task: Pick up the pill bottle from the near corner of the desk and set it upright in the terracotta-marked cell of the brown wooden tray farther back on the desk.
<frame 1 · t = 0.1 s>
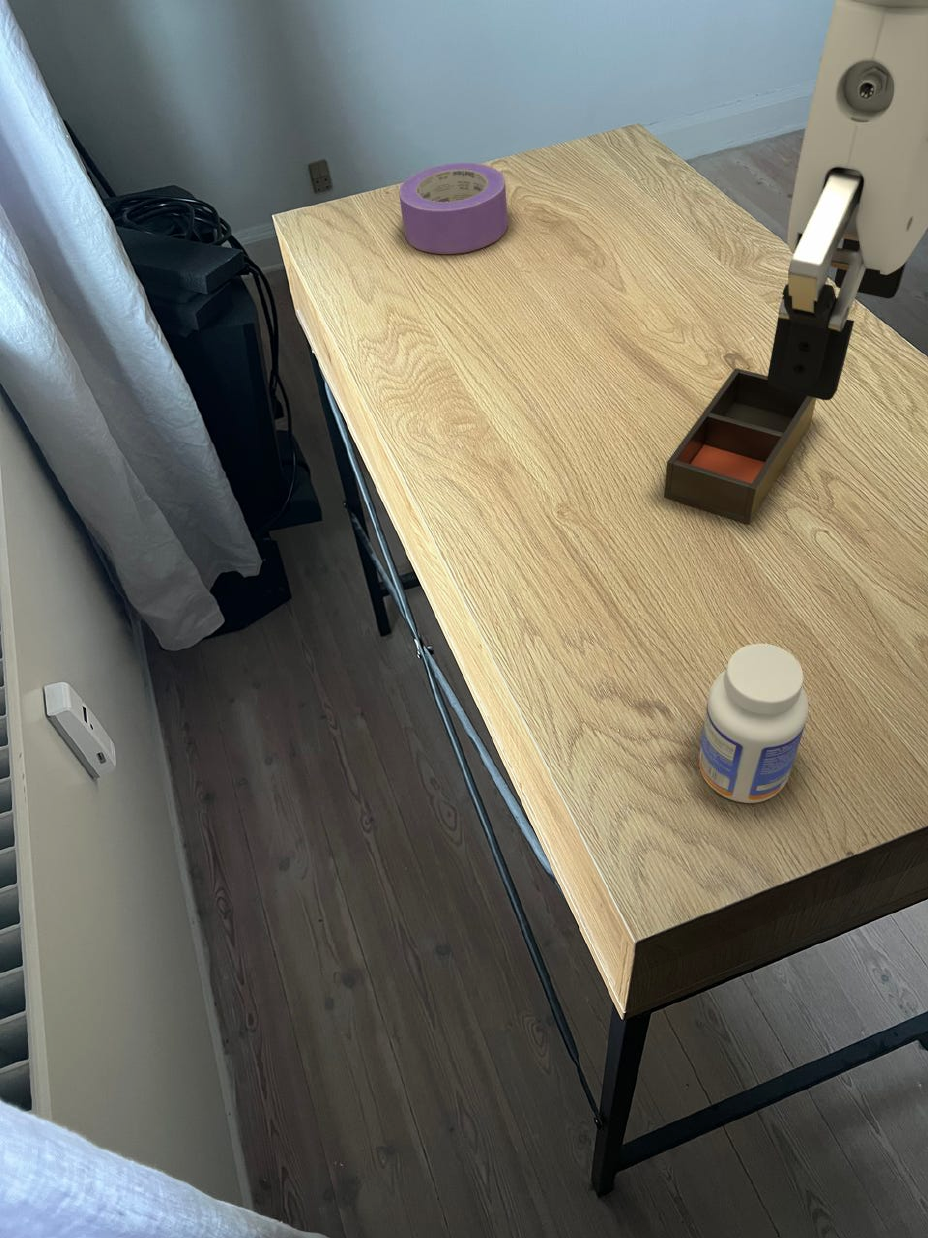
hand: (834, 337, 47), 22 cm above the table, tool pointing down, fingers open, 9 cm apart
brown wooden tray: (738, 460, 75), on the table
pill bottle: (741, 768, 57), on the table
tape roll: (456, 230, 106), on the table
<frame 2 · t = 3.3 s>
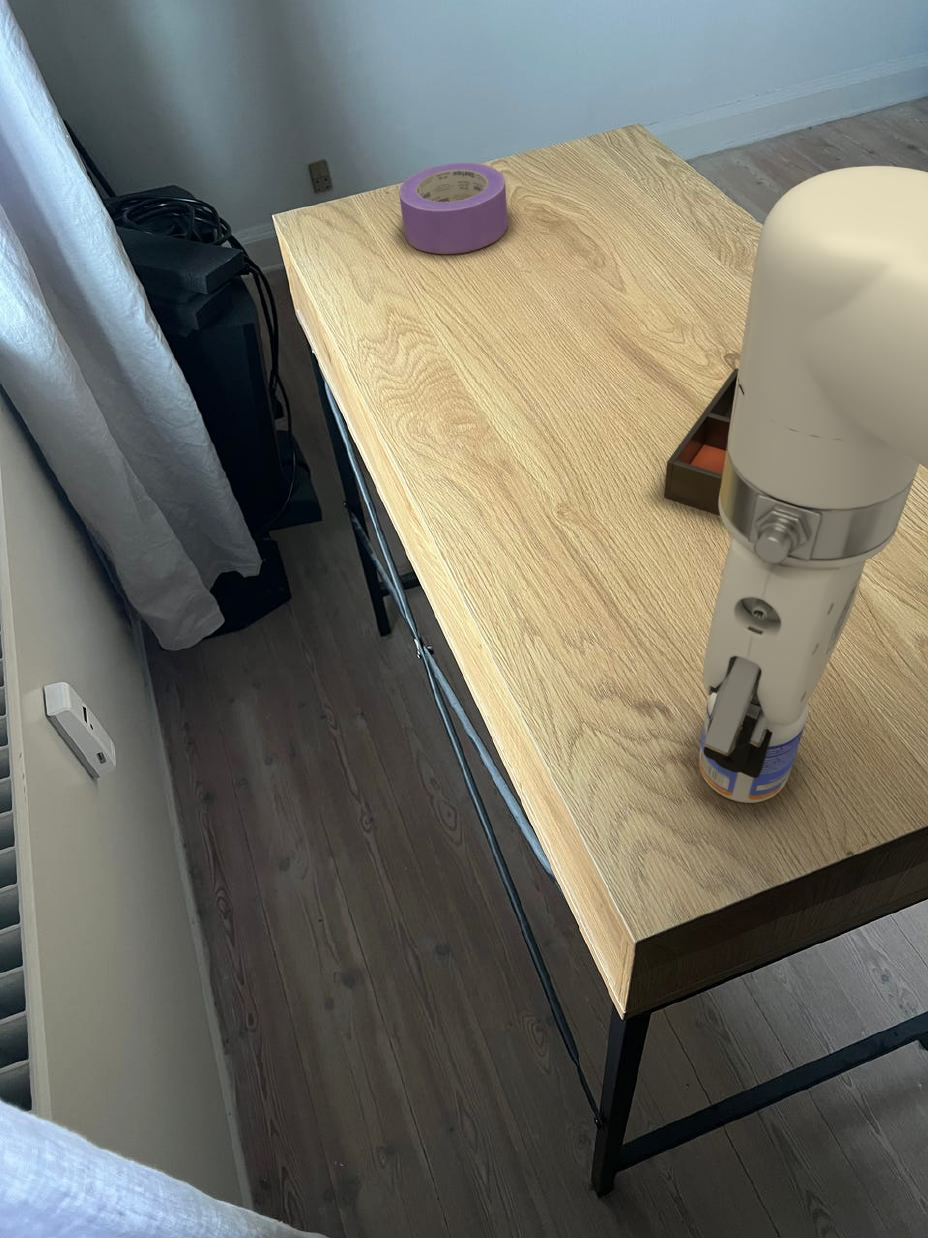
hand: (753, 721, 53), 5 cm above the table, tool pointing down, fingers closed on pill bottle, 5 cm apart
pill bottle: (741, 768, 57), on the table, touching gripper
everything else where it was.
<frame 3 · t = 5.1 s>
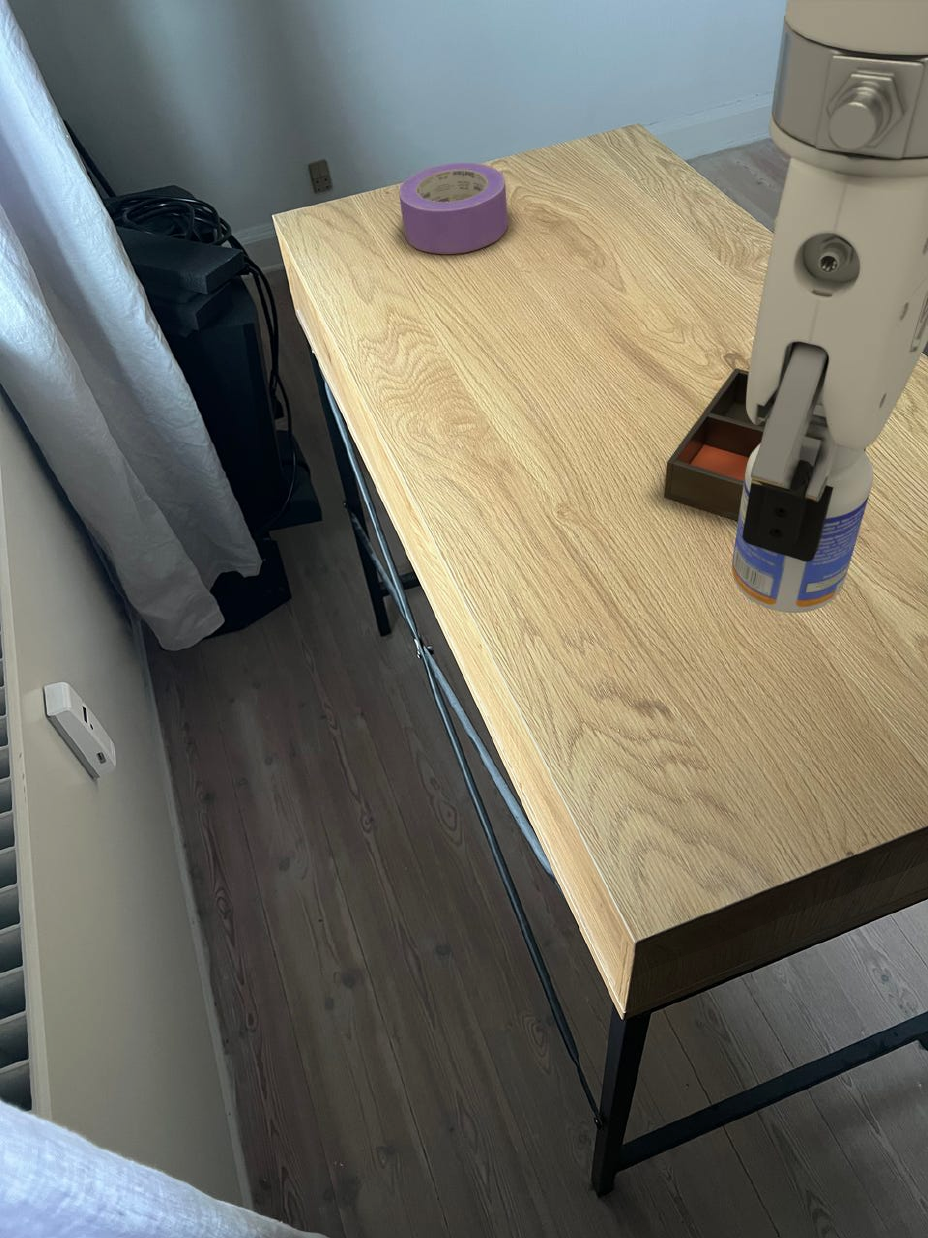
hand: (802, 503, 43), 20 cm above the table, tool pointing down, fingers closed on pill bottle, 5 cm apart
pill bottle: (784, 579, 47), point 15 cm above the table, touching gripper
everything else where it was.
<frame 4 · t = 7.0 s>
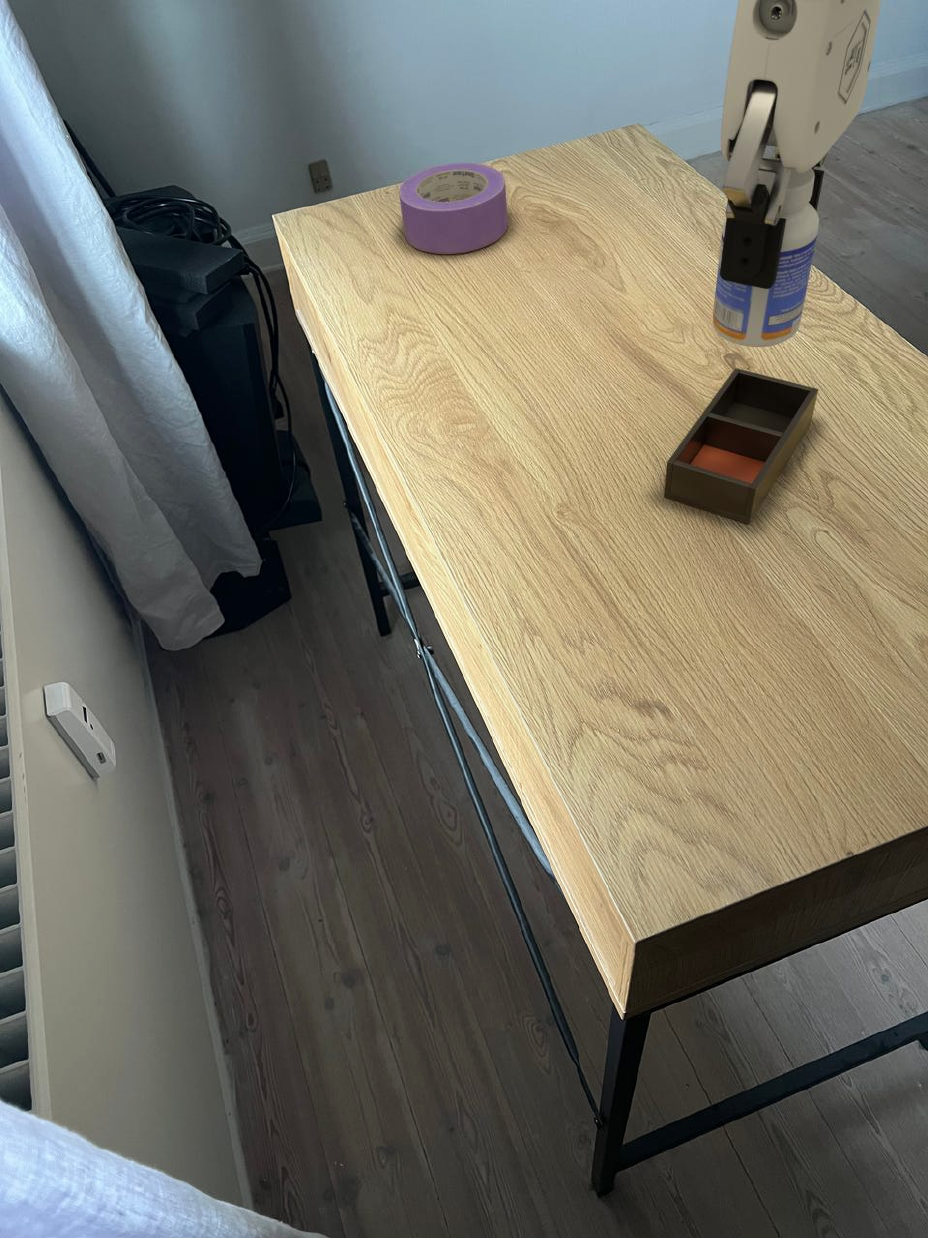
hand: (766, 254, 56), 21 cm above the table, tool pointing down, fingers closed on pill bottle, 5 cm apart
pill bottle: (754, 329, 60), point 16 cm above the table, touching gripper
everything else where it was.
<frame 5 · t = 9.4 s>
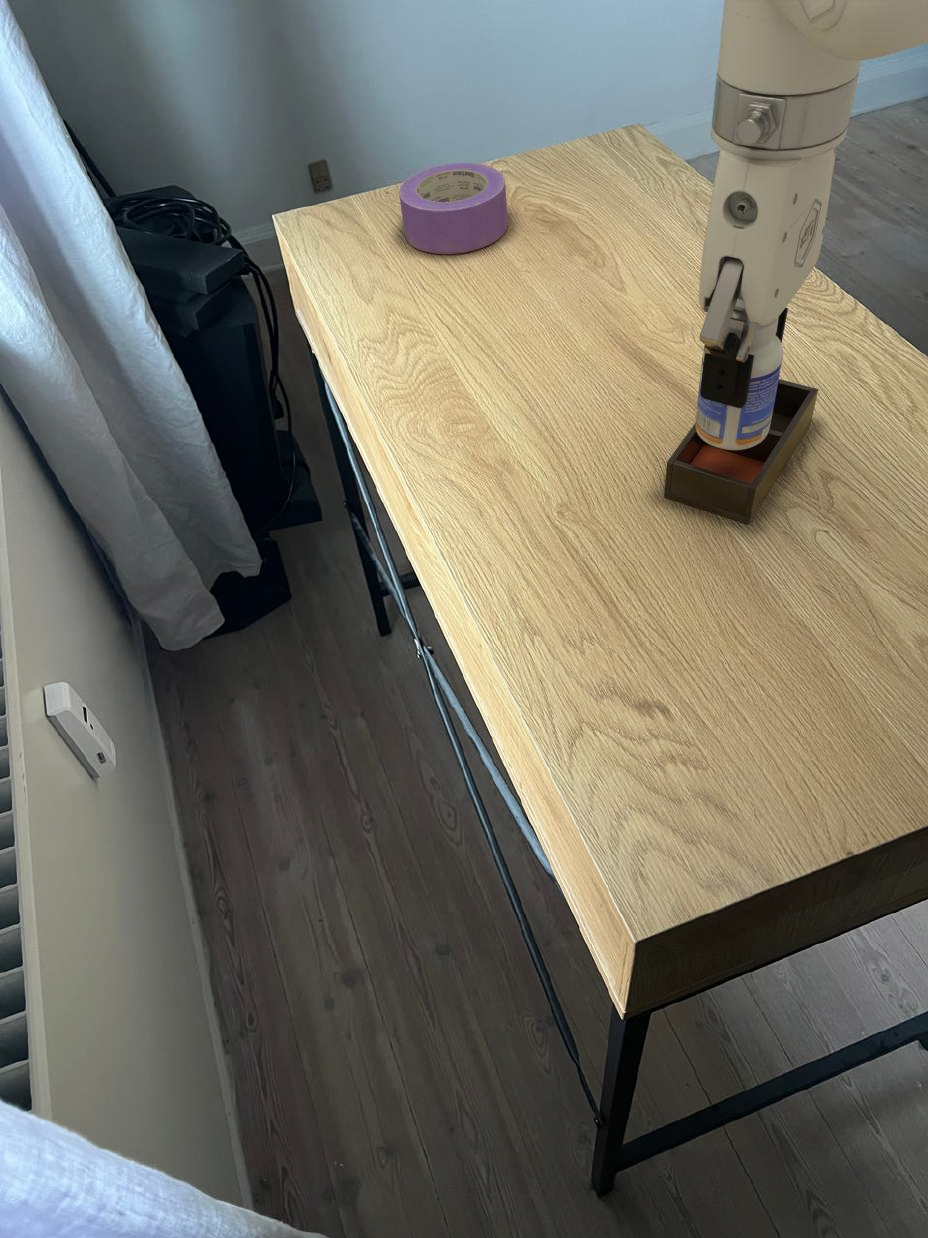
hand: (740, 374, 66), 10 cm above the table, tool pointing down, fingers closed on pill bottle, 5 cm apart
pill bottle: (730, 432, 70), point 5 cm above the table, touching gripper
everything else where it was.
when the fingers open (6 cm above the table, at t = 10.9 s): pill bottle stays where it is, resting on brown wooden tray.
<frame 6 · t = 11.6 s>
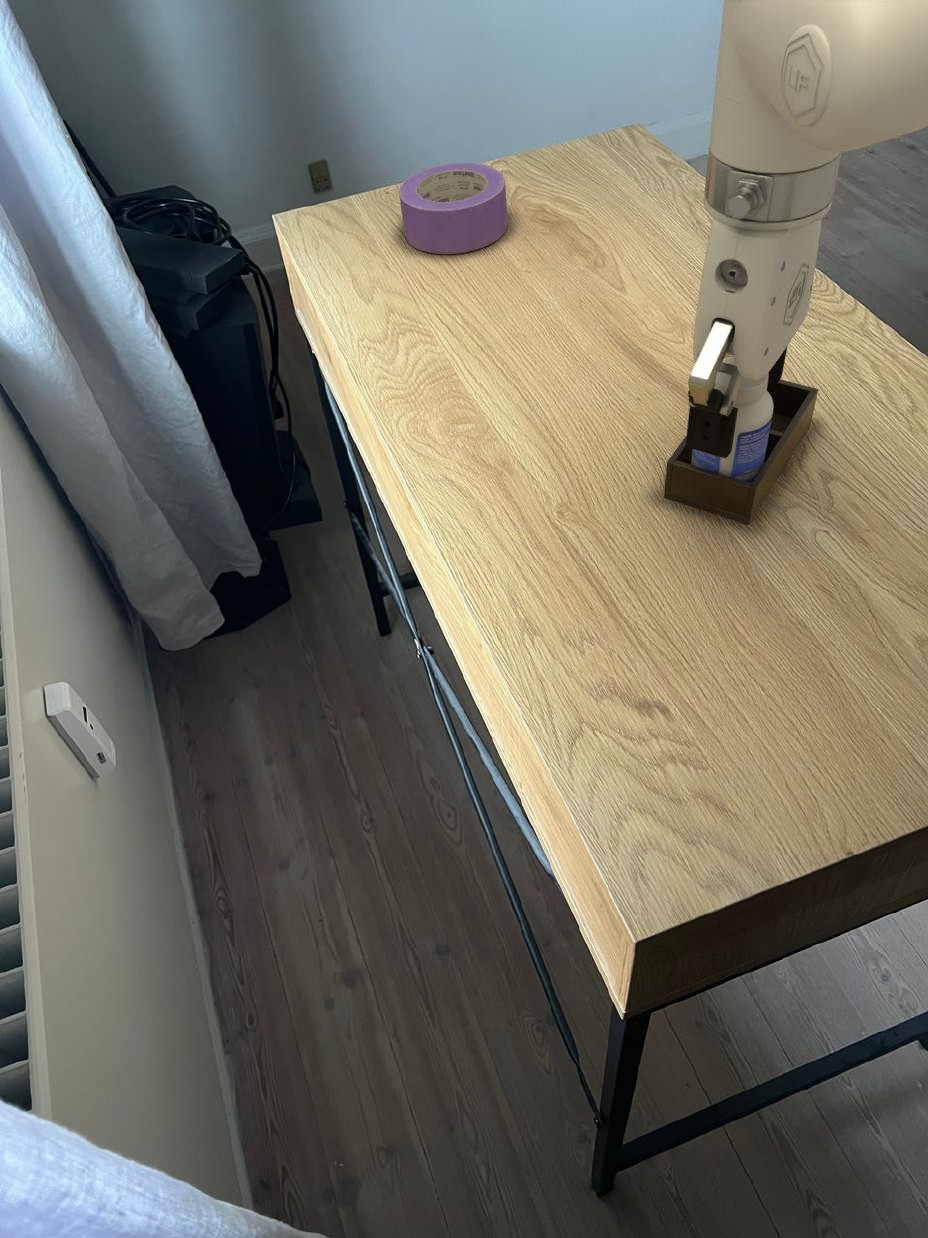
hand: (734, 412, 68), 7 cm above the table, tool pointing down, fingers open, 9 cm apart
pill bottle: (724, 478, 73), point 1 cm above the table, touching brown wooden tray
everything else where it was.
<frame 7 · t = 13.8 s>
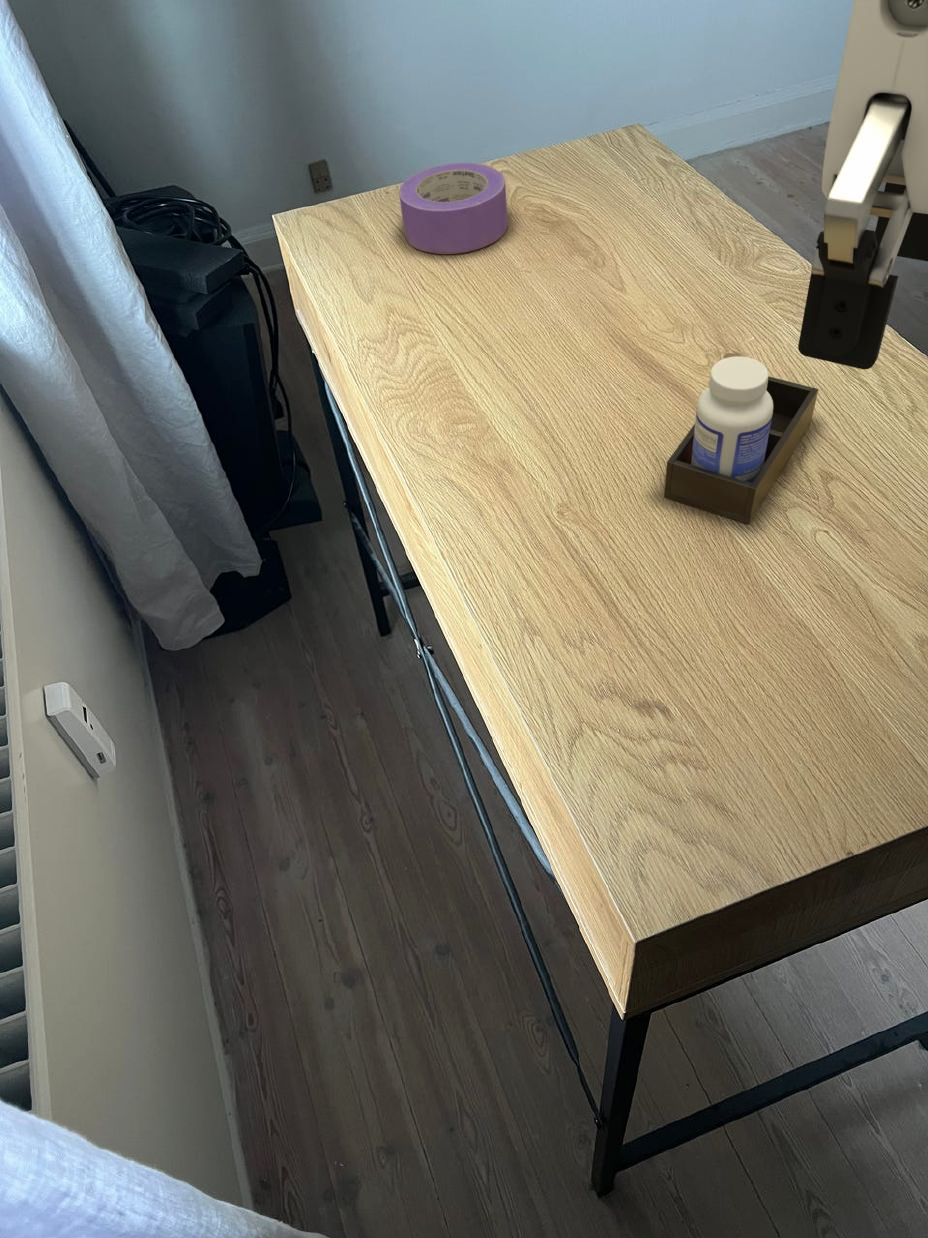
hand: (873, 303, 42), 26 cm above the table, tool pointing down, fingers open, 9 cm apart
nothing on the table moved.
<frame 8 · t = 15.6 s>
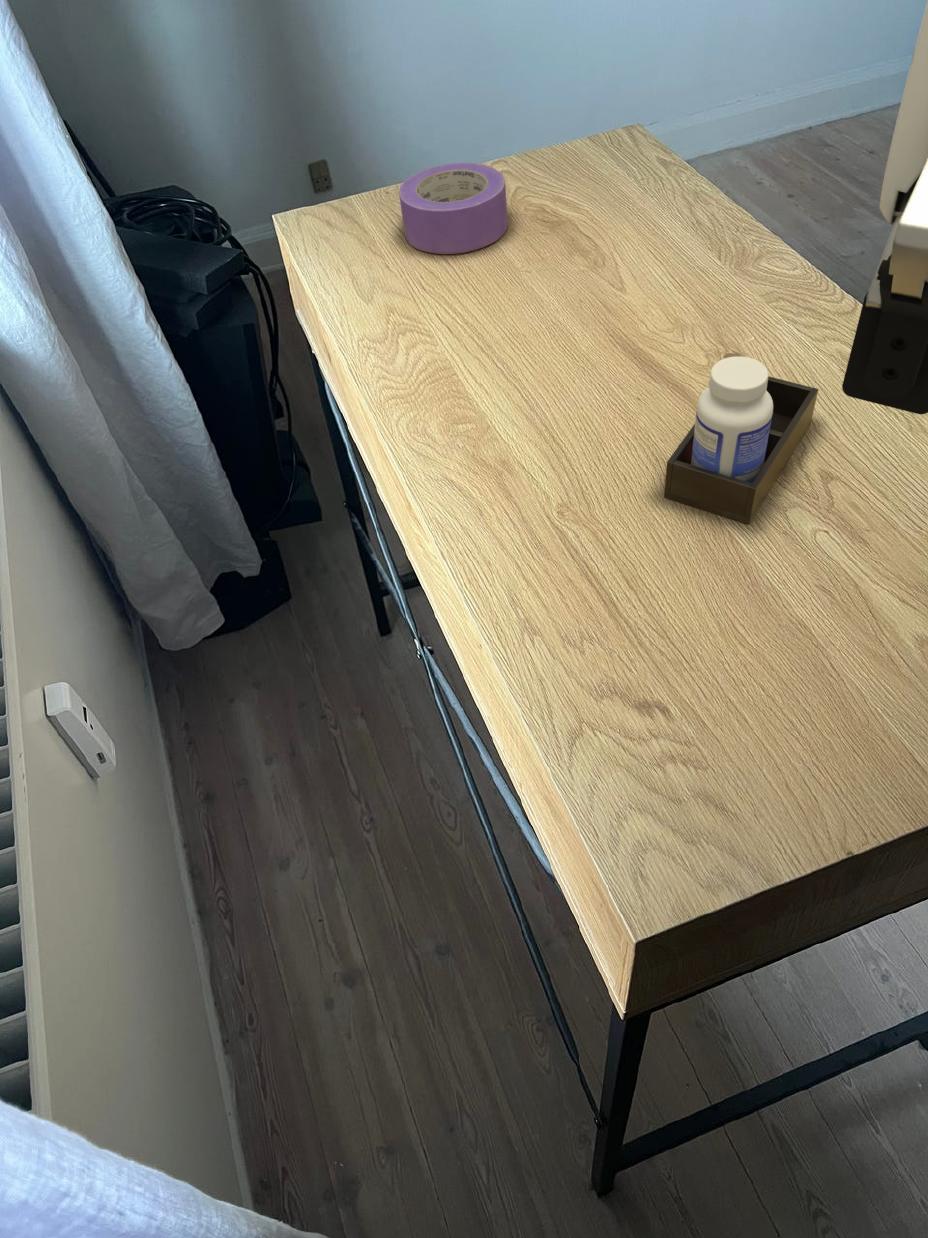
hand: (923, 333, 37), 28 cm above the table, tool pointing down, fingers open, 9 cm apart
nothing on the table moved.
at the end: pill bottle 0.0 cm from the target spot in the brown wooden tray, point 0.6 cm above the brown wooden tray's base; pill bottle tilted 0°; the gripper is holding nothing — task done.
